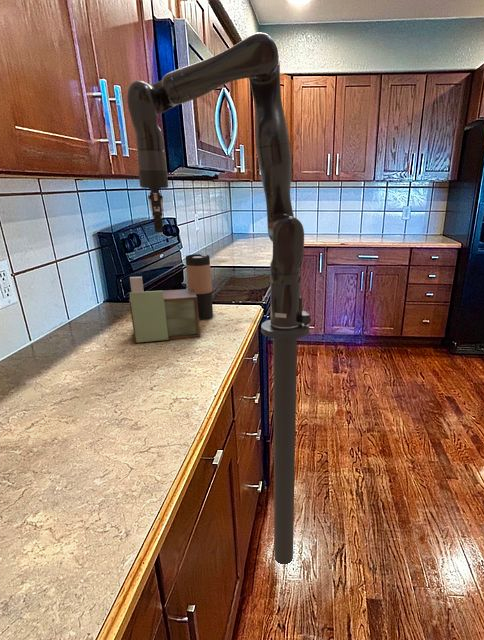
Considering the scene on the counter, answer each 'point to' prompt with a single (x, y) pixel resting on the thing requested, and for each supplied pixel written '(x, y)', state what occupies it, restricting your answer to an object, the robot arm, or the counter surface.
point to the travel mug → (200, 283)
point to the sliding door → (147, 312)
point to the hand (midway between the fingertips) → (158, 230)
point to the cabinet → (179, 314)
